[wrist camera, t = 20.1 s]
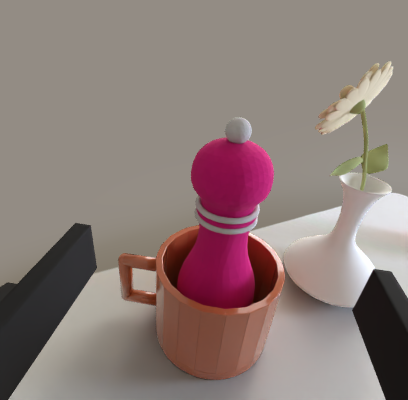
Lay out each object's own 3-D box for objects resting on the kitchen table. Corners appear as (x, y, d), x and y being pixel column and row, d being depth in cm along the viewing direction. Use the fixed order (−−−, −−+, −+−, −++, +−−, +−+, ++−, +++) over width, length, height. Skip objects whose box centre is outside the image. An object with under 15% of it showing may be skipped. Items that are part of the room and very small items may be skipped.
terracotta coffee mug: (263, 290, 34) (278, 233, 29) (268, 391, 24) (292, 327, 20) (140, 270, 35) (138, 212, 31) (99, 358, 25) (87, 291, 21)
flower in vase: (330, 244, 43) (401, 60, 30) (396, 304, 34) (537, 75, 21) (253, 258, 38) (300, 51, 26) (306, 331, 29) (416, 65, 17)
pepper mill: (163, 305, 29) (166, 107, 19) (219, 280, 33) (246, 103, 23) (200, 365, 24) (230, 140, 14) (261, 328, 28) (319, 128, 18)
